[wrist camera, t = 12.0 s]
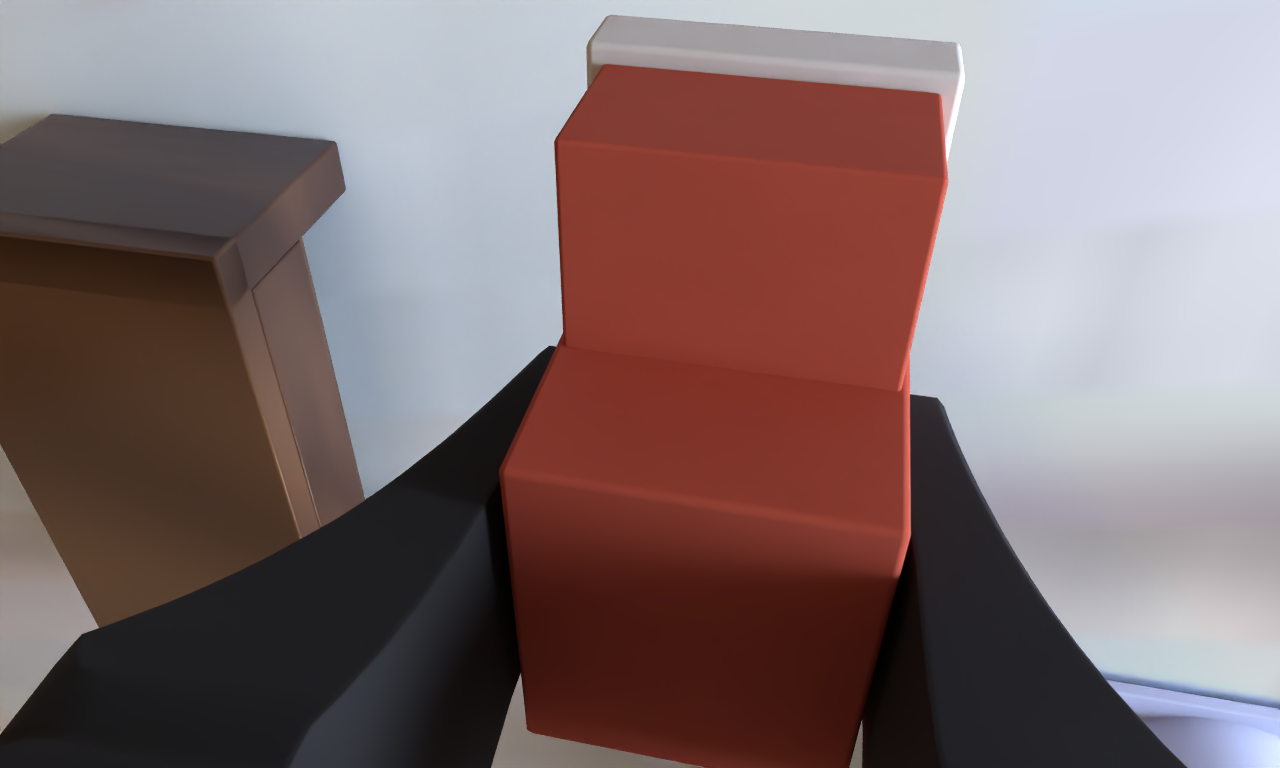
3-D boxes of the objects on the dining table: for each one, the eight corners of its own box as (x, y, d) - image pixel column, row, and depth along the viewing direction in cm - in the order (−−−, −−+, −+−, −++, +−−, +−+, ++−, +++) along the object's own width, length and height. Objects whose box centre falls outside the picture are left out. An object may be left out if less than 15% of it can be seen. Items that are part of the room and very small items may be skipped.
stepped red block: (863, 504, 15) (849, 808, 11) (610, 466, 16) (518, 742, 12) (962, 40, 11) (993, 284, 7) (606, 11, 11) (454, 222, 8)
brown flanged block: (423, 570, 30) (354, 711, 26) (214, 534, 31) (118, 666, 27) (337, 140, 21) (214, 258, 18) (51, 112, 22) (-124, 217, 19)
